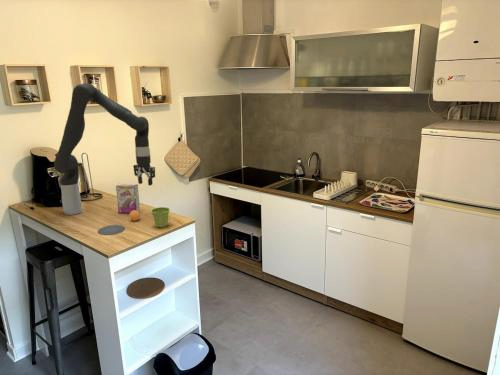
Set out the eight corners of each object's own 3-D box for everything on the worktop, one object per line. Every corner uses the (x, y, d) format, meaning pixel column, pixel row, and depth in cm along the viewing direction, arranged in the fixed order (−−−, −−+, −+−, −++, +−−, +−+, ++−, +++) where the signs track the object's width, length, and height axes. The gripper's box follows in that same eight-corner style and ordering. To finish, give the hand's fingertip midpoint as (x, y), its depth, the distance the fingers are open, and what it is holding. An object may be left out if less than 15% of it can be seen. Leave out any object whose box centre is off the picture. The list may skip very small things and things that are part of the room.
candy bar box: (118, 213, 215) (115, 185, 211) (121, 210, 220) (119, 183, 216) (137, 213, 214) (134, 186, 210) (140, 211, 219) (138, 183, 215)
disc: (92, 231, 189) (91, 231, 189) (112, 223, 200) (112, 223, 199) (109, 236, 182) (109, 236, 182) (130, 228, 193) (130, 227, 193)
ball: (127, 221, 203) (126, 211, 202) (135, 217, 208) (134, 208, 206) (135, 222, 201) (134, 212, 199) (142, 219, 205) (141, 209, 204)
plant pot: (151, 223, 199) (150, 208, 197) (169, 221, 202) (168, 206, 200) (153, 230, 191) (152, 213, 188) (172, 227, 194) (171, 211, 192)
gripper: (128, 154, 203) (130, 184, 208) (147, 156, 197) (150, 187, 201) (138, 152, 210) (141, 181, 214) (157, 154, 203) (160, 184, 207)
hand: (145, 184), depth 208 cm, fingers open, 6 cm apart
